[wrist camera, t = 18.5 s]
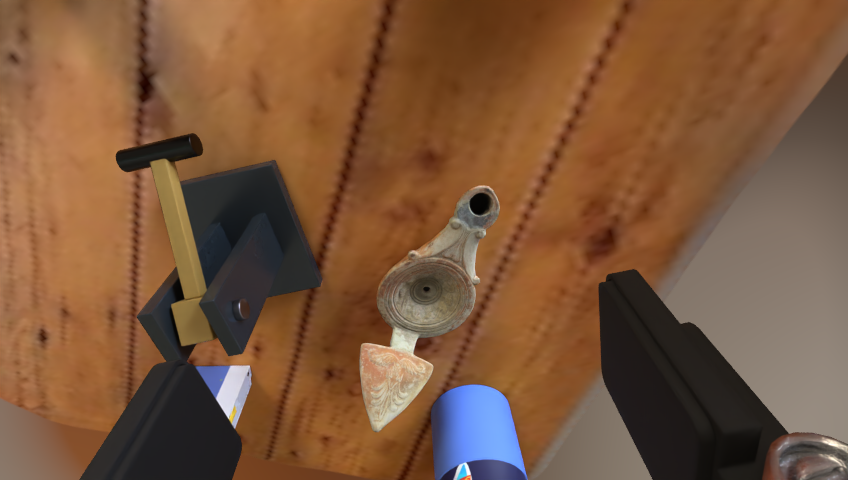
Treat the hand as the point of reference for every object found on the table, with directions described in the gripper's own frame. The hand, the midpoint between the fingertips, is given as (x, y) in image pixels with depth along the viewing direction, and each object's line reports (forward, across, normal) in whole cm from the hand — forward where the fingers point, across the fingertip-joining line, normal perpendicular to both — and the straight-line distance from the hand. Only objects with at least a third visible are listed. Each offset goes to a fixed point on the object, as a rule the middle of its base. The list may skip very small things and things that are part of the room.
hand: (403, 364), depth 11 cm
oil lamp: (+28, +2, +16) cm, 33 cm away
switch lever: (+20, +16, +4) cm, 26 cm away
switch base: (+28, +16, +8) cm, 33 cm away
